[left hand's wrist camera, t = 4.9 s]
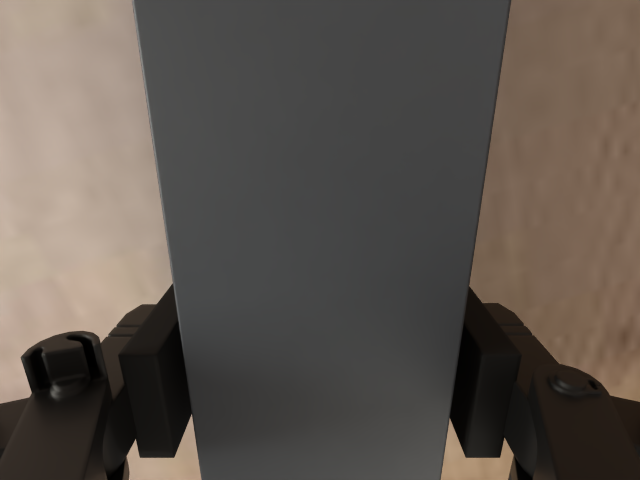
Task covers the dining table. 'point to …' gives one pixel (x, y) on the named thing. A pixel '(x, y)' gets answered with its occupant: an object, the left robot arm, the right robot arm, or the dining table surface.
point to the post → (321, 221)
